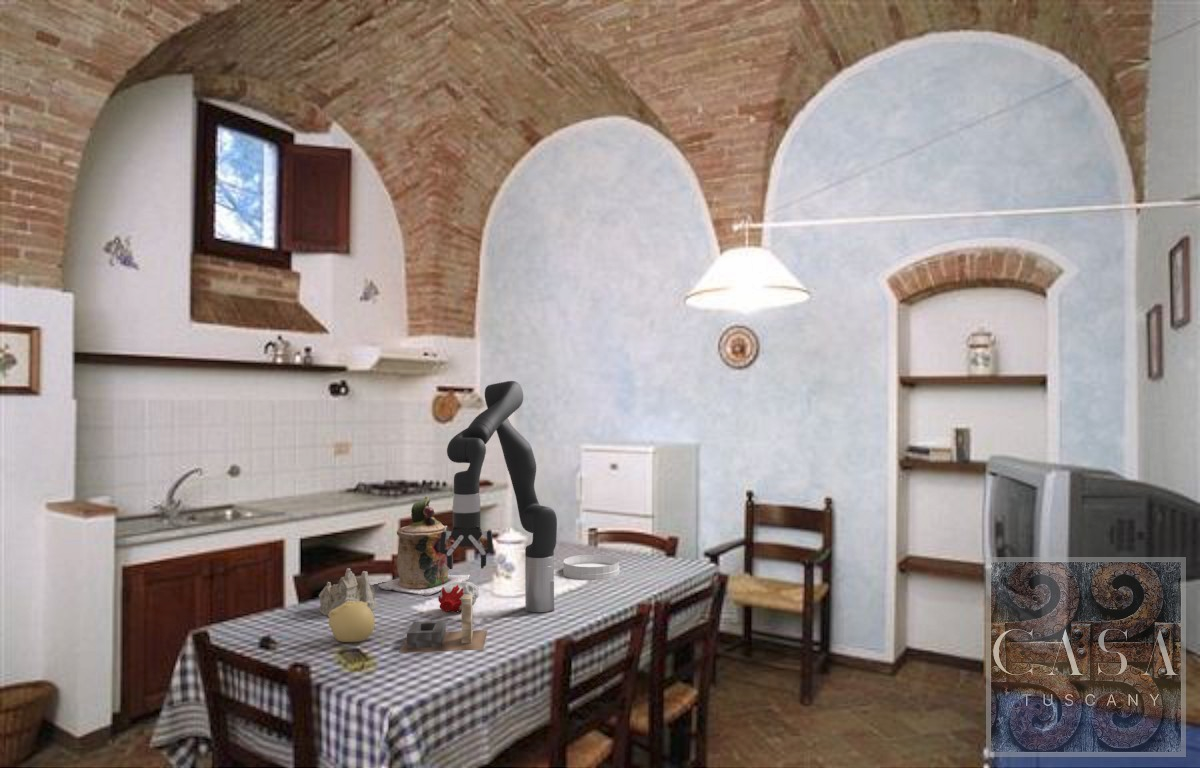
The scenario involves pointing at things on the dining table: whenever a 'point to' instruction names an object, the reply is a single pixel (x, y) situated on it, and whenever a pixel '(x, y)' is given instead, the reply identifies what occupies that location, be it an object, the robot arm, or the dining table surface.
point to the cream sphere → (351, 621)
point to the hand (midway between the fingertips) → (466, 568)
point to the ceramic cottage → (347, 592)
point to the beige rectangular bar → (467, 618)
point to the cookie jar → (422, 555)
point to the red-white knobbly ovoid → (456, 595)
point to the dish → (591, 567)
